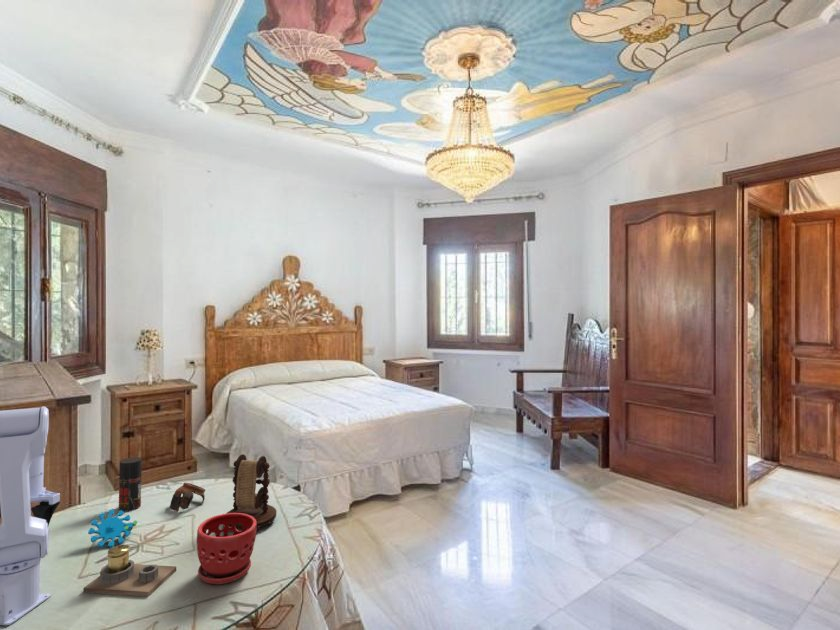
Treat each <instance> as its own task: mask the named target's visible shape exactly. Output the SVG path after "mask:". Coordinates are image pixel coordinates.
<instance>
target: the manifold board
mask: <svg viewBox="0 0 840 630" xmlns="http://www.w3.org/2000/svg"><path fill="white" fill-rule="evenodd" d="M176 571H177V566H175V565H173V566H172V565H158V564H141V563H140V564H139V563H137V564H136V563H135V561H133V560H131V559H129V566H128V569H126V570H124V571H121V572H119V573H114V574H108V564H106V565H105V566H103V567H102V568H101V569H100V571H99V576H97V577H96V578H95V579H93V580H91V581H90V582H89V583H88V584H86V586H84V587H83V593H86V594H103V595H104V594H105V595H106V594H107V595H117V596H118V595H120V596H133V597H134V596H135V597H139V596H140V597H150V596H151V595H152V594H153V593H154V592H155V591H156V590H157V589H159V588H160V587H161V585H163V584H164V583H165V582H166V581H167V580H169V578H170V577H171V576H172V575H174V573H175V572H176Z"/></svg>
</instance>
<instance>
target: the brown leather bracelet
mask: <svg viewBox="0 0 840 630" xmlns="http://www.w3.org/2000/svg"><path fill="white" fill-rule="evenodd" d="M205 492H206V489H205V488H203V487H200V486H198V485H195V484H193V483H190V482H183V484H182V486H180V487H178V488H177V489H176V490H175V491H174V493H173V495H172V497H171V501H170V505H169V509H171V510H172V511H174V512H179V511H180V510H179V509H182V510H187V509H189V507H190V505H191V502H192V501H193V499H194V494H195V495H197V496H200V497H201V498H202V501H201V504H204V502H205V498H206V497H205Z"/></svg>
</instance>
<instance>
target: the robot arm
mask: <svg viewBox="0 0 840 630" xmlns="http://www.w3.org/2000/svg"><path fill="white" fill-rule="evenodd" d="M49 411H50V410H49V408H47V407H46V406H43V405H42V406H41V407H30V408H18V409H6V410H5V409H3V410H0V520H1V523H0V626H10V625H12V624H14V623H15V622H16V621H18V620H19V619H20V618H22V617H23V616H25V615H26V614H27V613H29V612H31V611H32V610H33V609H35V608H36V607H38V606H39V605H40V604H42V603H43V602H45V601H46V600H48V599H49V598H50V597H51V593H41V592H40V591H41V589H40V588H41V587H40V585H41V583H40V582H41V581H40V580H41V559H44V558H45V557H46V556H48V553H49V547H50V528H49V525H50V522H51V519H52V517H53V515H54V513H55V511H56V510H57V508H58V506H59V505H60V504H61V494H60V492H59V493H58V492H53V491H50V490H48V489H46V488H47V487H46V486H45V487H44V474H45V453H46V447H47V442H48V435H49V424H50V423H49V422H50V419H49V418H50V415H49V414H50V413H49ZM31 503H39V504H37V505H35V506H33V507H32V506H31ZM32 515H33V516H32Z"/></svg>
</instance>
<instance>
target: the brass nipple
mask: <svg viewBox="0 0 840 630" xmlns="http://www.w3.org/2000/svg"><path fill="white" fill-rule="evenodd" d="M129 557H130V545H129V544H118V545H116V546H113V547H110V548H109V549H108V550H107V565H108V574H114V573H119V572H121V571H124V570H126V569H128V566H129V560H130V559H129Z"/></svg>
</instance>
